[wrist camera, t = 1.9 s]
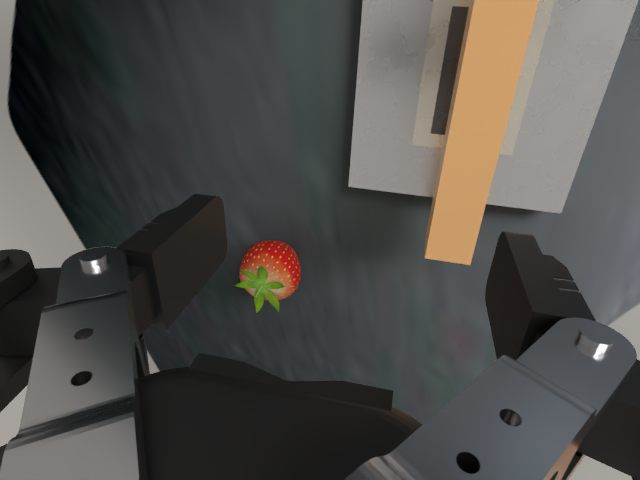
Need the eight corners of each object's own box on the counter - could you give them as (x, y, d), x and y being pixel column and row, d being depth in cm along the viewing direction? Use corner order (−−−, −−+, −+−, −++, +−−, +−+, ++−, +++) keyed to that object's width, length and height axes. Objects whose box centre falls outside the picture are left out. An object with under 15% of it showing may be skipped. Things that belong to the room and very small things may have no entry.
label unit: (373, -89, 27) (369, -96, 25) (655, -87, 24) (675, -95, 22) (352, 178, 36) (347, 188, 34) (554, 202, 33) (562, 215, 31)
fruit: (254, 258, 42) (220, 307, 35) (265, 215, 39) (230, 259, 33) (304, 278, 42) (279, 330, 35) (318, 236, 39) (294, 285, 32)
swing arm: (527, -347, 17) (544, -408, 15) (624, -357, 17) (658, -422, 14) (421, 236, 31) (420, 257, 29) (471, 243, 31) (474, 265, 28)
